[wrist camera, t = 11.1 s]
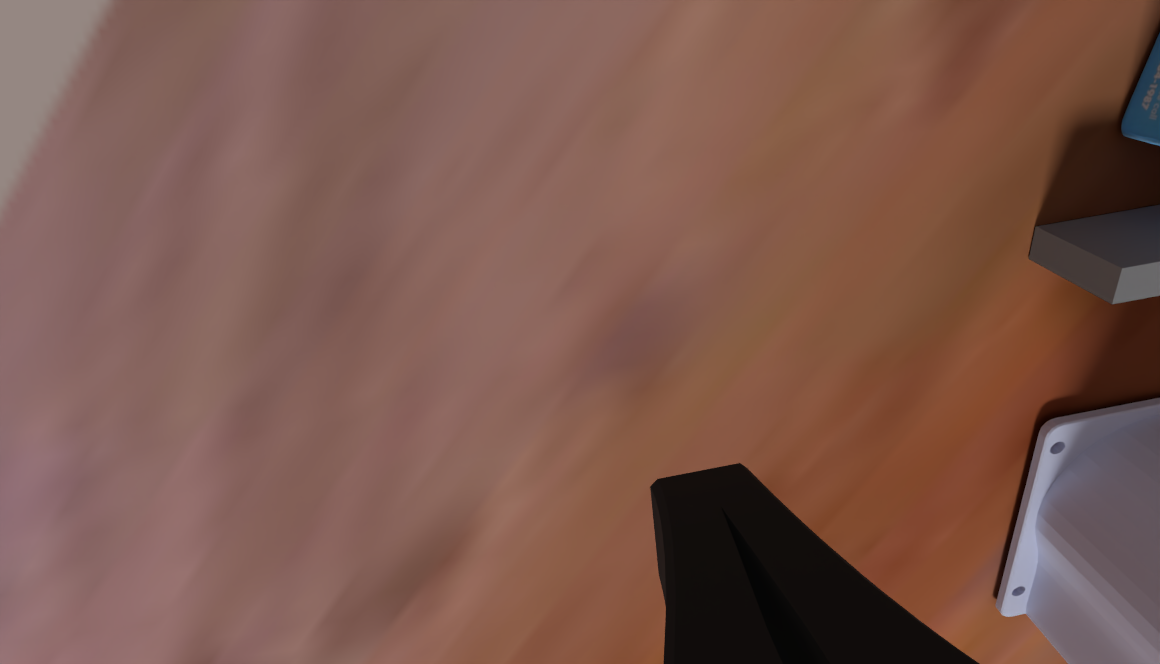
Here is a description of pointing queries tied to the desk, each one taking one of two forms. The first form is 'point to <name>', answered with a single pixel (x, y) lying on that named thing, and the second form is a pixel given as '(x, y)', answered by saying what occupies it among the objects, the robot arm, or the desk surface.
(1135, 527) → the robot arm
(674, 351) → the desk surface
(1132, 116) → the ink box
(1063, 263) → the frame
